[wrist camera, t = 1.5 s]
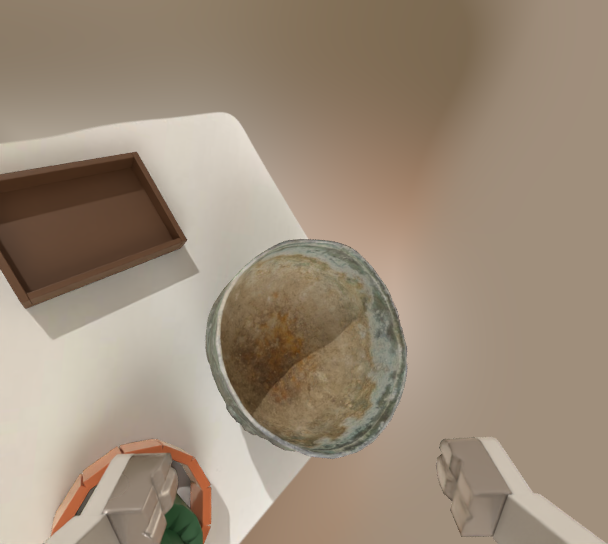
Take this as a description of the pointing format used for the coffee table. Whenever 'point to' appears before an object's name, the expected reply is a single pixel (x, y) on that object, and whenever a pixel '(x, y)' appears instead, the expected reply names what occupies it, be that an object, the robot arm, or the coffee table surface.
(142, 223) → the tray
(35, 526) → the coffee table surface
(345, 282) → the bowl
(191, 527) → the bottle
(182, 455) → the orange ring
